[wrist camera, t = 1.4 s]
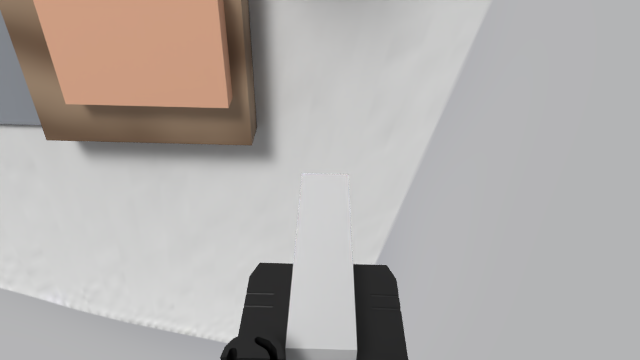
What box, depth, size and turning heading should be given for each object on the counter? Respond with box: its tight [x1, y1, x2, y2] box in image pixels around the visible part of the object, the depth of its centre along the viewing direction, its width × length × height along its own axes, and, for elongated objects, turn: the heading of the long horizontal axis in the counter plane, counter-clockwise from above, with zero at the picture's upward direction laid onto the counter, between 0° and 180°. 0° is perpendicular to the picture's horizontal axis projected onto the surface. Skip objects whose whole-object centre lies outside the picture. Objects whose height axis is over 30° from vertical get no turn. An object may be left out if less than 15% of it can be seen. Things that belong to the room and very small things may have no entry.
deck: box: [0, 0, 257, 145], centre depth 30 cm, size 14×14×2 cm
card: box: [33, 0, 233, 108], centre depth 28 cm, size 7×10×2 cm
